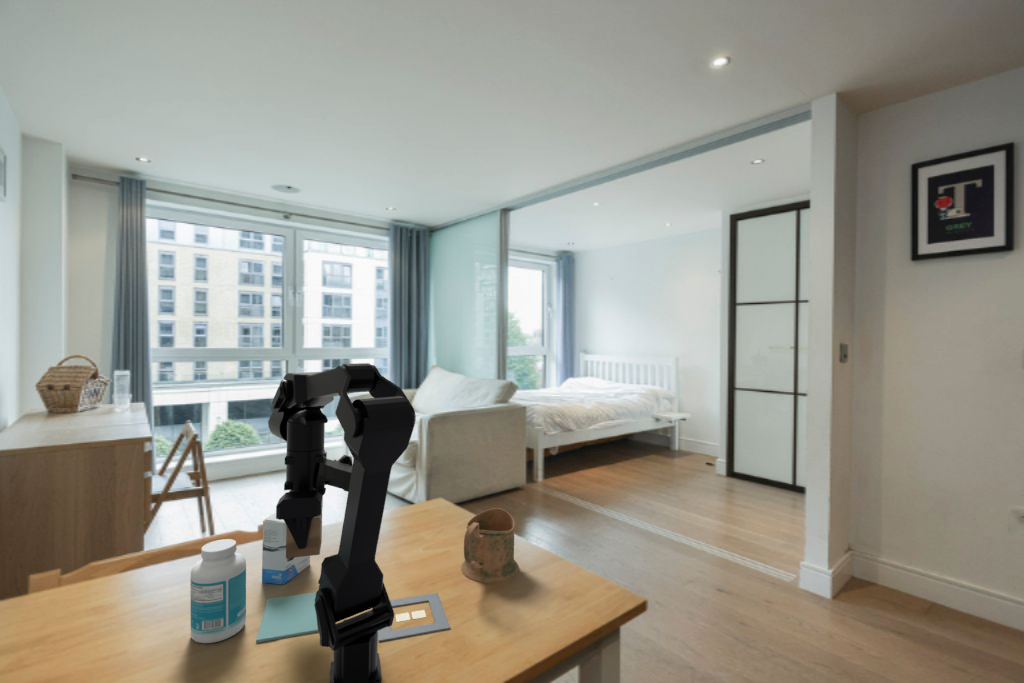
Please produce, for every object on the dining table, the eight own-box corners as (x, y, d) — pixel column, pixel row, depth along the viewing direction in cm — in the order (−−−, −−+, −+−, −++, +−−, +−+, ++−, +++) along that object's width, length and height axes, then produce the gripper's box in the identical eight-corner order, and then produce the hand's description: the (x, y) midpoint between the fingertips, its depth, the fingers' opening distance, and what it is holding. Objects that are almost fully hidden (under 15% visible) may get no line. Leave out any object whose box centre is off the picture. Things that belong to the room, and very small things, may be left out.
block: (319, 554, 78) (320, 518, 78) (285, 558, 77) (286, 521, 77) (321, 542, 83) (322, 507, 83) (289, 545, 82) (290, 510, 82)
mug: (436, 592, 88) (437, 526, 88) (474, 552, 104) (475, 497, 104) (495, 604, 84) (497, 536, 84) (525, 561, 101) (526, 503, 101)
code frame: (450, 629, 77) (450, 627, 77) (378, 642, 73) (378, 640, 73) (437, 594, 87) (437, 592, 87) (374, 604, 83) (374, 602, 83)
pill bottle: (234, 612, 80) (235, 531, 80) (253, 629, 76) (255, 543, 76) (182, 632, 75) (183, 545, 75) (199, 652, 70) (201, 560, 70)
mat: (327, 630, 76) (327, 628, 76) (255, 642, 72) (256, 640, 72) (329, 592, 87) (329, 590, 87) (267, 601, 84) (267, 599, 84)
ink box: (283, 585, 89) (284, 522, 89) (260, 582, 90) (261, 519, 90) (311, 564, 98) (312, 506, 97) (290, 562, 99) (290, 504, 98)
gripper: (356, 459, 73) (355, 560, 74) (356, 434, 91) (355, 516, 91) (276, 463, 70) (274, 570, 70) (292, 437, 88) (290, 522, 88)
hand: (304, 541), depth 80 cm, fingers closed on block, 5 cm apart
